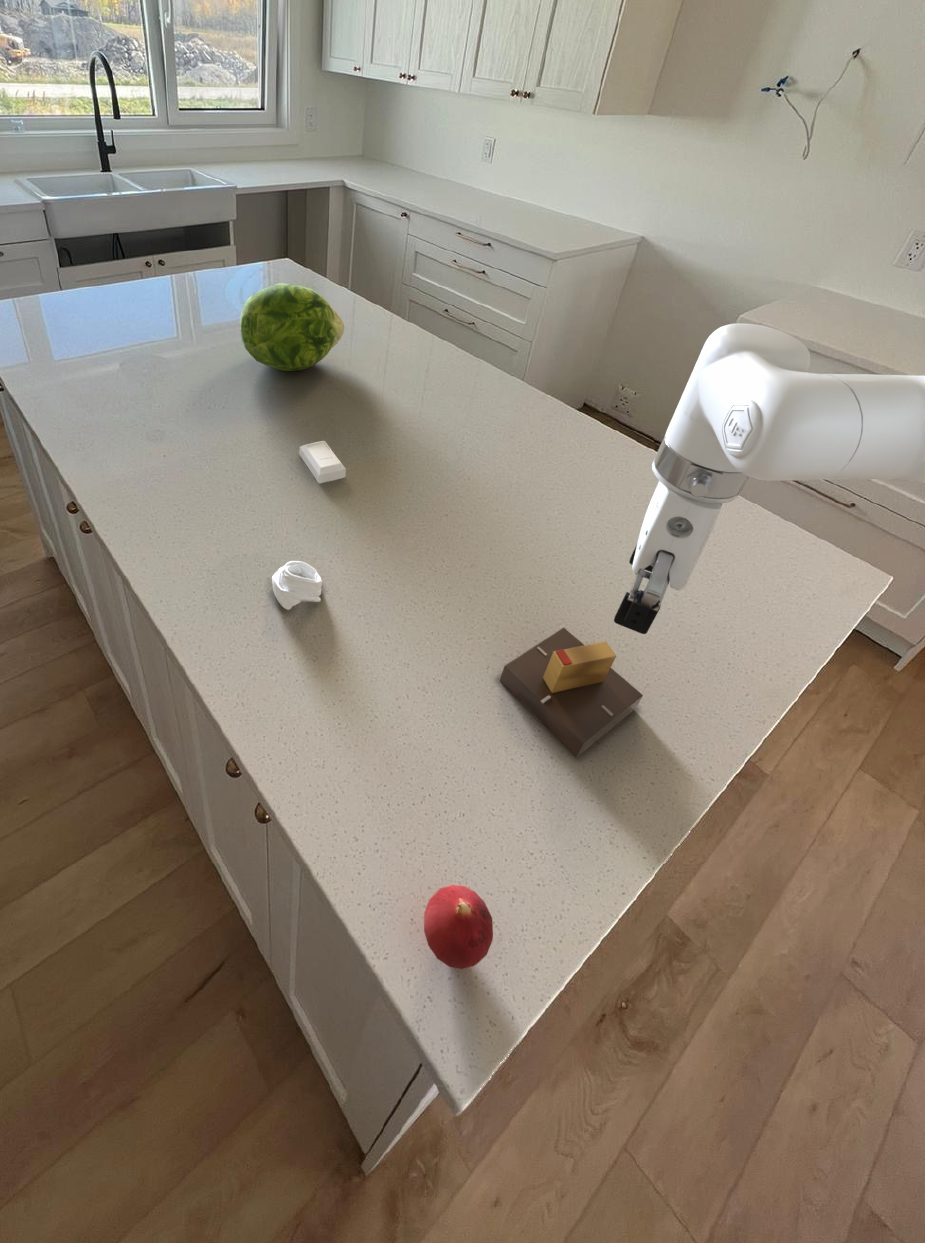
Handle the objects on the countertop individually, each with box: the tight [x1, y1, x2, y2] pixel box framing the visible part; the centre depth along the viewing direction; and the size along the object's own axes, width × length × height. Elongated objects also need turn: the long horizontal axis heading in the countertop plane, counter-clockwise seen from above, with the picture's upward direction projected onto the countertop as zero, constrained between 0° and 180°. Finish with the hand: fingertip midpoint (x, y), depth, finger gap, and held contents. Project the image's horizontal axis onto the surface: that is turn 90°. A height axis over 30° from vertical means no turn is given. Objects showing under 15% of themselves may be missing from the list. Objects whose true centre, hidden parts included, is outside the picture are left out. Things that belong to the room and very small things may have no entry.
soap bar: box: [299, 440, 347, 484], centre depth 111 cm, size 5×9×3 cm, turn 26°
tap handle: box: [543, 641, 617, 693], centre depth 74 cm, size 7×2×5 cm, turn 105°
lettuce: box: [239, 282, 345, 372], centre depth 137 cm, size 19×23×18 cm
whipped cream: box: [271, 560, 323, 611], centre depth 86 cm, size 8×7×5 cm
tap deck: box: [499, 627, 644, 758], centre depth 76 cm, size 12×11×3 cm
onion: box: [423, 884, 494, 970], centre depth 54 cm, size 6×6×8 cm
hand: (636, 595), depth 67 cm, fingers open, 9 cm apart
